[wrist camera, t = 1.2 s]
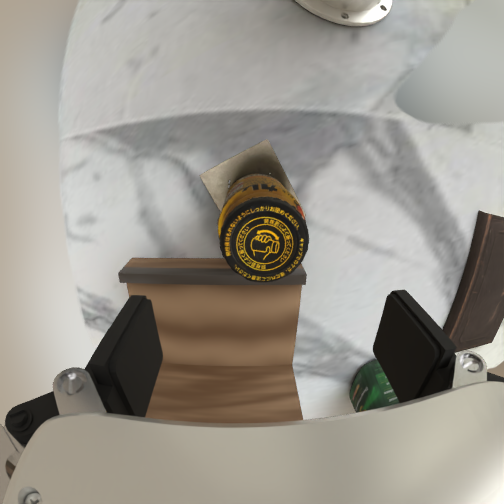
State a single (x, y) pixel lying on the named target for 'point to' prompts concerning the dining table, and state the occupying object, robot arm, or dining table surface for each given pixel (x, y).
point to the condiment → (258, 215)
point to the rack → (220, 340)
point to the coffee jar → (371, 389)
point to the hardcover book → (480, 288)
